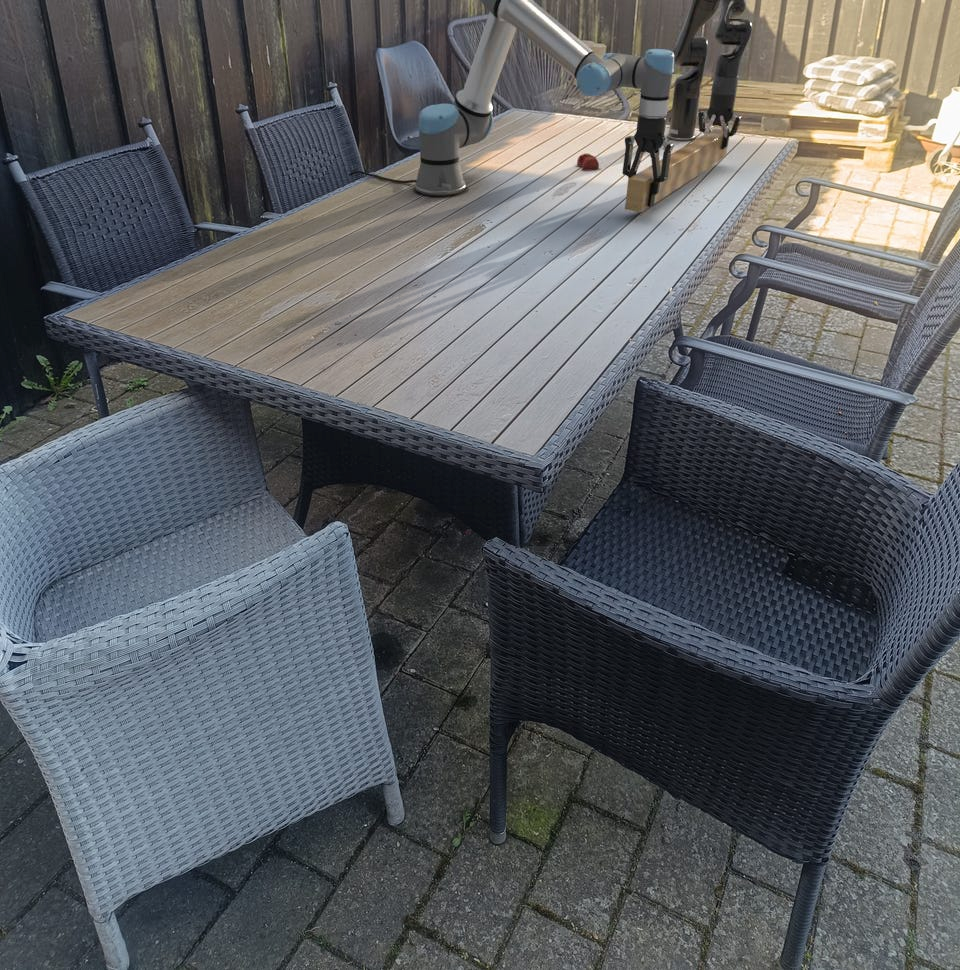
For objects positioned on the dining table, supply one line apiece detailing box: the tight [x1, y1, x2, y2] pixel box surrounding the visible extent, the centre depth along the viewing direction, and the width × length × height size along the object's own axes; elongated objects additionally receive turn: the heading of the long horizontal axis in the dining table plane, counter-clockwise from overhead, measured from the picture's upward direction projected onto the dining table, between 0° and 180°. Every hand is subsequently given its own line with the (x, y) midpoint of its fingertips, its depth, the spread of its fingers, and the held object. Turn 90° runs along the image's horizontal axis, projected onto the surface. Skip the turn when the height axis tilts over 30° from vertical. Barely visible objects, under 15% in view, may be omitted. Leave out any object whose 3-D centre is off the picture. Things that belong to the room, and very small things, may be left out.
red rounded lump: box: [576, 152, 600, 171], centre depth 277 cm, size 6×4×8 cm
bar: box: [624, 128, 729, 213], centre depth 254 cm, size 68×5×8 cm, turn 147°
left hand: (641, 203), depth 236 cm, fingers closed on bar, 5 cm apart
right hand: (714, 147), depth 273 cm, fingers closed on bar, 5 cm apart
